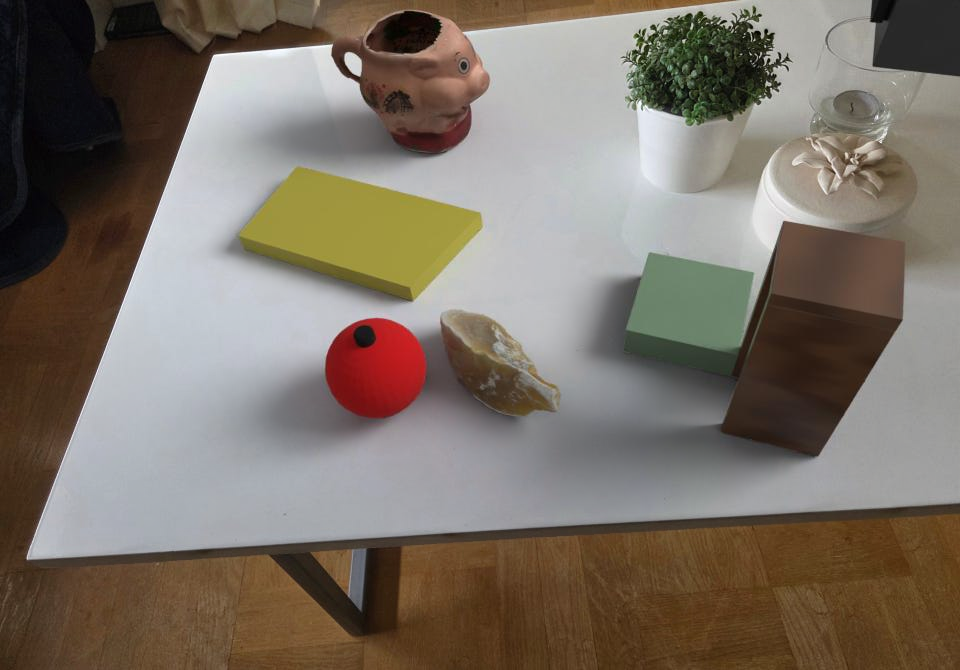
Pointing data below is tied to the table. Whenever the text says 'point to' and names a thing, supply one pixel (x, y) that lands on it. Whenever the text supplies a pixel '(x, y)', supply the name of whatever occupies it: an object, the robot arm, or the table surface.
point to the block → (920, 37)
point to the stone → (494, 365)
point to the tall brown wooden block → (814, 334)
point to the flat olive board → (360, 232)
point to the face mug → (417, 77)
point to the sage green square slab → (689, 313)
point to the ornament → (375, 368)
